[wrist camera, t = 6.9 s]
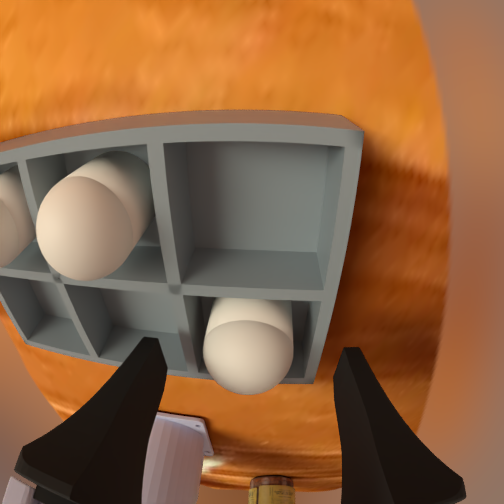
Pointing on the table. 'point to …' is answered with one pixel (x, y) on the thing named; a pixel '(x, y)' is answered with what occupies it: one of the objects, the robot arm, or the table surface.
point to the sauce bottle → (271, 490)
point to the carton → (195, 232)
